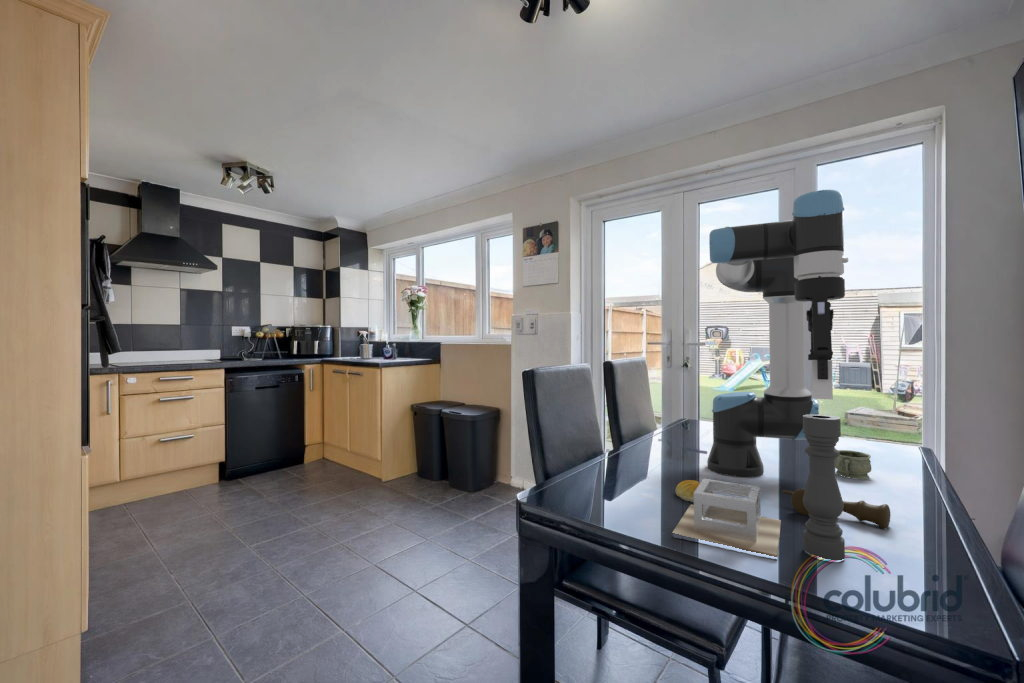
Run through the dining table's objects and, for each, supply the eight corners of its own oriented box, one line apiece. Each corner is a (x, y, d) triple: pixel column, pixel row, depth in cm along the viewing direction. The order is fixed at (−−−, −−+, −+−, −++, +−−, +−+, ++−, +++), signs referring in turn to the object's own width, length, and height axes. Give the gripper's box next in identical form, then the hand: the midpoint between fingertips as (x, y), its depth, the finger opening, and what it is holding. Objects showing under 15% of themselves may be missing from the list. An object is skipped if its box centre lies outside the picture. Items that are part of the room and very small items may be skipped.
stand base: (690, 508, 103) (690, 504, 103) (780, 524, 94) (780, 520, 94) (672, 537, 88) (672, 532, 88) (777, 560, 78) (777, 555, 78)
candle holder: (805, 558, 79) (802, 418, 79) (801, 544, 85) (799, 413, 85) (848, 565, 76) (845, 420, 76) (841, 550, 82) (838, 415, 82)
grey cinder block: (704, 512, 98) (703, 478, 99) (760, 522, 92) (760, 486, 93) (694, 530, 89) (693, 492, 89) (756, 542, 83) (755, 502, 83)
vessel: (839, 468, 134) (839, 447, 134) (877, 474, 127) (876, 452, 127) (827, 476, 126) (826, 454, 126) (865, 483, 120) (865, 460, 120)
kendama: (883, 538, 88) (773, 508, 103) (894, 526, 94) (788, 499, 109) (884, 508, 88) (774, 482, 103) (894, 498, 94) (789, 474, 109)
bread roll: (698, 490, 116) (698, 475, 116) (718, 502, 108) (718, 486, 108) (669, 492, 115) (668, 477, 115) (686, 504, 107) (686, 488, 107)
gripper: (851, 266, 68) (854, 404, 68) (839, 284, 89) (841, 389, 89) (793, 271, 72) (796, 401, 72) (794, 287, 93) (796, 387, 93)
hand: (821, 395), depth 80 cm, fingers open, 13 cm apart
